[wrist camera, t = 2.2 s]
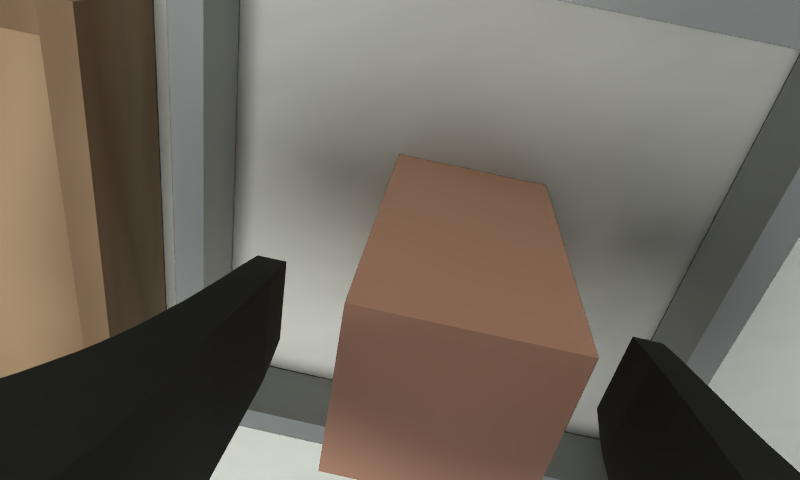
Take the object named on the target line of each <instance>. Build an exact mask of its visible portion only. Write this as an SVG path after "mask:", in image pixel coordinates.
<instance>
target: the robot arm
mask: <svg viewBox="0 0 800 480" xmlns="http://www.w3.org/2000/svg"><path fill="white" fill-rule="evenodd" d="M285 272H286V262H285V261H280V260H276V259H271V258H267V257H262V256H256V257H254V258H253V259H251V260H249V261H248V262H246V263H244V264H243V265H241V266H240V267H238V268H236V269H235V270H233V271H232V272H230V273H228V274H227V275H225V276H224V277H222V278H220V279H219V280H217V281H216V282H214V283H212V284H211V285H209V286H207V287H206V288H204V289H202V290H201V291H199V292H197V293H196V294H194V295H192V296H191V297H189V298H187V299H186V300H184V301H182V302H180V303H178V304H177V305H175V306H173V307H171V308H169V309H167V310H165V311H163V312H162V313H160V314H158V315H156V316H154V317H152V318H150V319H148V320H146V321H145V322H143V323H141V324H139V325H137V326H135V327H133V328H130V329H128V330H126V331H124V332H122V333H120V334H117V335H115V336H113V337H111V338H108V339H106V340H104V341H101V342H99V343H96V344H94V345H92V346H89V347H87V348H85V349H82V350H79V351H77V352H74V353H72V354H69V355H66V356H63V357H60V358H58V359H55V360H52V361H49V362H46V363H43V364H41V365H38V366H35V367H32V368H29V369H26V370H24V371H21V372H18V373H15V374H12V375H9V376H5V377H2V378H0V480H209V479H210V477H211V475H212V473H213V471H214V470H215V468H216V466H217V464H218V462H219V461H220V459H221V457H222V455H223V453H224V451H225V450H226V448H227V446H228V444H229V442H230V441H231V439H232V437H233V435H234V433H235V432H236V430H237V428H238V426H239V424H240V423H241V421H242V419H243V417H244V415H245V413H246V412H247V410H248V408H249V406H250V404H251V402H252V401H253V399H254V397H255V395H256V393H257V391H258V390H259V388H260V386H261V384H262V382H263V380H264V378H265V375H266V373H267V370H268V368H269V365H270V363H271V360H272V358H273V355H274V353H275V350H276V347H277V345H278V342H279V340H280V331H281V319H282V307H283V296H284V284H285ZM597 413H598V423H599V434H600V441H601V449H602V456H603V460H604V464H605V469H606V472H607V476H608V480H800V472H798V471H797V470H796V469H795V468H794V467H793V466H792V465H791V464H789V463H788V462H787V461H786V460H785V459H784V458H783V457H782V456H781V455H779V454H778V453H777V452H776V451H775V450H774V449H773V448H772V447H771V446H769V445H768V444H767V443H766V442H765V441H764V440H763V439H762V438H761V437H760V436H759V435H758V434H757V433H756V432H755V431H753V430H752V429H751V428H750V427H749V426H748V425H747V424H746V423H745V422H744V421H743V420H742V419H741V418H740V417H739V416H738V415H737V414H736V413H735V412H734V411H733V410H732V409H731V408H730V407H729V406H728V405H727V404H726V403H725V402H724V401H723V400H722V399H721V398H720V397H719V396H718V395H717V394H716V393H715V392H714V391H713V390H712V389H710V388H709V387H708V386H707V385H706V384H705V383H704V382H703V381H702V380H701V379H700V378H699V377H698V376H697V375H696V374H695V373H694V372H693V371H692V370H691V369H690V368H689V367H688V366H687V365H686V364H685V363H684V362H683V361H682V360H681V359H680V358H679V357H678V356H677V355H676V354H675V353H673V352H672V351H671V350H670V349H669V348H668V347H667V346H665V345H664V344H663V343H659V342H654V341H650V340H645V339H641V338H636V337H633V338H632V340H631V342H630V344H629V346H628V348H627V350H626V352H625V354H624V356H623V358H622V360H621V362H620V364H619V366H618V368H617V370H616V372H615V374H614V376H613V378H612V380H611V382H610V384H609V386H608V388H607V390H606V392H605V394H604V396H603V398H602V400H601V402H600V404H599V406H598V408H597Z"/></svg>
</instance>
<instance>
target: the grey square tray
mask: <svg viewBox="0 0 800 480" xmlns="http://www.w3.org/2000/svg"><path fill="white" fill-rule="evenodd" d="M559 1H564V2H569V3H574V4H579V5H584V6H589V7H594V8H599V9H603V10H608V11H613V12H618V13H623V14H628V15H633V16H638V17H642V18H647V19H652V20H657V21H662V22H667V23H672V24H677V25H681V26H686V27H691V28H696V29H701V30H706V31H711V32H716V33H721V34H725V35H730V36H735V37H740V38H745V39H750V40H755V41H760V42H764V43H769V44H774V45H779V46H784V47H789V48H794V49H799V50H800V1H799V0H559ZM166 3H167V34H168V65H169V96H170V128H171V159H172V190H173V221H174V253H175V284H176V305H177V304H178V303H180V302H182V301H184V300H186V299H187V298H189V297H191V296H192V295H194V294H196V293H197V292H199V291H201V290H202V289H204V288H206V287H207V286H209V285H211V284H212V283H214V282H216V281H217V280H219V279H220V278H222V277H224V276H225V275H227V274H228V273H230V272H232V242H233V207H234V173H235V138H236V104H237V69H238V35H239V0H166ZM799 237H800V56H799V58H798V60H797V62H796V63H795V65H794V67H793V69H792V71H791V73H790V75H789V77H788V79H787V81H786V83H785V85H784V87H783V88H782V90H781V92H780V94H779V96H778V98H777V100H776V102H775V104H774V106H773V108H772V110H771V112H770V113H769V115H768V117H767V119H766V121H765V123H764V125H763V127H762V129H761V131H760V133H759V135H758V136H757V138H756V140H755V142H754V144H753V146H752V148H751V150H750V152H749V154H748V156H747V158H746V160H745V161H744V163H743V165H742V167H741V169H740V171H739V173H738V175H737V177H736V179H735V181H734V183H733V185H732V186H731V188H730V190H729V192H728V194H727V196H726V198H725V200H724V202H723V204H722V206H721V208H720V210H719V211H718V213H717V215H716V217H715V219H714V221H713V223H712V225H711V227H710V229H709V231H708V233H707V235H706V236H705V238H704V240H703V242H702V244H701V246H700V248H699V250H698V252H697V254H696V256H695V258H694V260H693V261H692V263H691V265H690V267H689V269H688V271H687V273H686V275H685V277H684V279H683V281H682V283H681V284H680V286H679V288H678V290H677V292H676V294H675V296H674V298H673V300H672V302H671V304H670V306H669V308H668V309H667V311H666V313H665V315H664V317H663V319H662V321H661V323H660V325H659V327H658V329H657V331H656V333H655V334H654V336H653V338H652V340H651V341H654V342H659V343H663V344H664V345H665V346H667V347H668V348H669V349H670V350H671V351H672V352H673V353H675V354H676V355H677V356H678V357H679V358H680V359H681V360H682V361H683V362H684V363H685V364H686V365H687V366H688V367H689V368H690V369H691V370H692V371H693V372H694V373H695V374H696V375H697V376H698V377H699V378H700V379H701V380H702V381H703V382H704V383H705V384H706V385H708V384H709V382H710V381H711V379H712V377H713V376H714V374H715V372H716V371H717V369H718V368H719V366H720V364H721V363H722V361H723V360H724V358H725V356H726V355H727V353H728V351H729V350H730V348H731V347H732V345H733V343H734V342H735V340H736V339H737V337H738V335H739V334H740V332H741V330H742V329H743V327H744V326H745V324H746V322H747V321H748V319H749V317H750V316H751V314H752V313H753V311H754V309H755V308H756V306H757V305H758V303H759V301H760V300H761V298H762V296H763V295H764V293H765V292H766V290H767V288H768V287H769V285H770V283H771V282H772V280H773V279H774V277H775V275H776V274H777V272H778V271H779V269H780V267H781V266H782V264H783V262H784V261H785V259H786V258H787V256H788V254H789V253H790V251H791V250H792V248H793V246H794V245H795V243H796V241H797V240H798V238H799ZM331 388H332V380H328V379H323V378H319V377H314V376H310V375H305V374H301V373H296V372H292V371H287V370H283V369H278V368H274V367H269V368H268V370H267V373H266V375H265V378H264V380H263V382H262V384H261V386H260V388H259V390H258V391H257V393H256V395H255V397H254V399H253V401H252V402H251V404H250V406H249V408H248V410H247V412H246V413H245V415H244V417H243V419H242V421H241V423H240V424H239V426H244V427H248V428H253V429H257V430H262V431H266V432H270V433H275V434H279V435H284V436H288V437H293V438H297V439H302V440H306V441H310V442H315V443H319V444H323V439H324V432H325V426H326V420H327V413H328V407H329V400H330V394H331ZM542 480H608V476H607V472H606V469H605V464H604V460H603V456H602V449H601V441H600V440H598V439H593V438H589V437H584V436H580V435H575V434H571V433H566V432H564V434H563V436H562V438H561V440H560V442H559V444H558V446H557V448H556V451H555V453H554V455H553V457H552V459H551V461H550V463H549V466H548V468H547V470H546V472H545V474H544V476H543V478H542Z"/></svg>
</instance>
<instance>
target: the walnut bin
mask: <svg viewBox="0 0 800 480" xmlns="http://www.w3.org/2000/svg"><path fill="white" fill-rule="evenodd" d="M165 310H166V297H165V274H164V251H163V228H162V205H161V182H160V159H159V136H158V113H157V90H156V67H155V44H154V21H153V0H0V378H2V377H5V376H9V375H12V374H15V373H18V372H21V371H24V370H26V369H29V368H32V367H35V366H38V365H41V364H43V363H46V362H49V361H52V360H55V359H58V358H60V357H63V356H66V355H69V354H72V353H74V352H77V351H79V350H82V349H85V348H87V347H89V346H92V345H94V344H96V343H99V342H101V341H104V340H106V339H108V338H111V337H113V336H115V335H117V334H120V333H122V332H124V331H126V330H128V329H130V328H133V327H135V326H137V325H139V324H141V323H143V322H145V321H146V320H148V319H150V318H152V317H154V316H156V315H158V314H160V313H162V312H163V311H165Z"/></svg>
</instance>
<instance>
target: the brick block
mask: <svg viewBox="0 0 800 480" xmlns="http://www.w3.org/2000/svg"><path fill="white" fill-rule="evenodd" d="M598 359H599V358H598V354H597V351H596V348H595V345H594V341H593V338H592V335H591V331H590V328H589V325H588V322H587V318H586V315H585V312H584V309H583V305H582V302H581V299H580V296H579V292H578V289H577V286H576V283H575V279H574V276H573V273H572V270H571V266H570V263H569V260H568V257H567V253H566V250H565V247H564V243H563V240H562V237H561V234H560V230H559V227H558V224H557V221H556V217H555V214H554V211H553V208H552V204H551V201H550V198H549V195H548V191H547V188H546V185H541V184H537V183H532V182H527V181H523V180H518V179H513V178H508V177H504V176H499V175H494V174H490V173H485V172H480V171H476V170H471V169H466V168H461V167H457V166H452V165H447V164H443V163H438V162H433V161H428V160H424V159H419V158H414V157H410V156H405V155H400V154H399V157H398V159H397V162H396V165H395V167H394V170H393V173H392V176H391V178H390V181H389V184H388V186H387V189H386V192H385V195H384V197H383V200H382V203H381V206H380V208H379V211H378V214H377V216H376V219H375V222H374V225H373V227H372V230H371V233H370V235H369V238H368V241H367V244H366V246H365V249H364V252H363V254H362V257H361V260H360V263H359V265H358V268H357V271H356V274H355V276H354V279H353V282H352V284H351V287H350V290H349V293H348V295H347V298H346V301H345V304H344V311H343V317H342V324H341V330H340V336H339V343H338V349H337V356H336V362H335V368H334V375H333V381H332V388H331V394H330V400H329V407H328V413H327V420H326V426H325V432H324V439H323V445H322V452H321V458H320V464H319V471H322V472H326V473H331V474H335V475H339V476H344V477H348V478H353V479H357V480H542V478H543V476H544V474H545V472H546V470H547V468H548V466H549V463H550V461H551V459H552V457H553V455H554V453H555V451H556V448H557V446H558V444H559V442H560V440H561V438H562V436H563V434H564V431H565V429H566V427H567V425H568V423H569V421H570V419H571V416H572V414H573V412H574V410H575V408H576V406H577V404H578V401H579V399H580V397H581V395H582V393H583V391H584V389H585V387H586V384H587V382H588V380H589V378H590V376H591V374H592V372H593V369H594V367H595V365H596V363H597V361H598Z"/></svg>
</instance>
